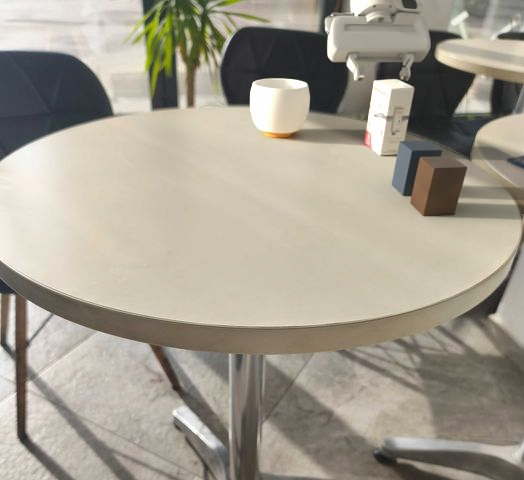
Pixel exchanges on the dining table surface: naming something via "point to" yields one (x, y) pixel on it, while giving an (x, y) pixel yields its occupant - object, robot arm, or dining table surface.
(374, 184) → the dining table surface
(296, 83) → the cup
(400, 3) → the robot arm
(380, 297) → the dining table surface
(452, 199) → the walnut block
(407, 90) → the ink box
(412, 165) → the slate block
